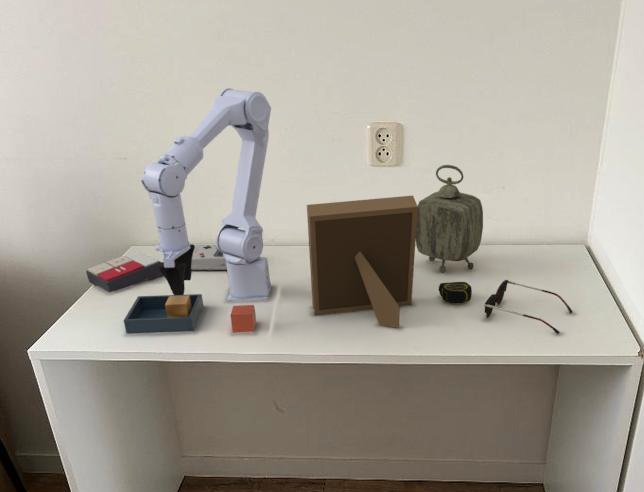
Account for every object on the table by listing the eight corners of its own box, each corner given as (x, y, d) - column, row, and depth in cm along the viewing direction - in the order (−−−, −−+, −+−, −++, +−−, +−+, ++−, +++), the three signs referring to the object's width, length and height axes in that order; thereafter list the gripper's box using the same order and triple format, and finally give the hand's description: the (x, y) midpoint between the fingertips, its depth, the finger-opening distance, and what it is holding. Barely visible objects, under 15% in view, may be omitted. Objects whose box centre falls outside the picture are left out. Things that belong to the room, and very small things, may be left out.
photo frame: (312, 307, 165) (303, 196, 151) (407, 297, 168) (406, 187, 154) (320, 337, 153) (311, 219, 139) (422, 325, 156) (423, 209, 142)
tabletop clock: (480, 268, 181) (486, 164, 167) (464, 281, 174) (469, 174, 160) (428, 258, 187) (430, 157, 173) (411, 270, 181) (411, 166, 167)
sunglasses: (502, 298, 166) (505, 277, 163) (573, 314, 160) (577, 293, 157) (481, 323, 156) (484, 301, 153) (556, 341, 150) (560, 319, 147)
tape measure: (467, 294, 168) (468, 278, 166) (473, 306, 163) (474, 290, 161) (438, 295, 168) (438, 280, 166) (443, 308, 162) (443, 292, 160)
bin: (204, 308, 167) (201, 293, 165) (194, 333, 157) (191, 318, 155) (141, 310, 167) (137, 296, 165) (126, 335, 157) (123, 320, 155)
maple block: (193, 313, 163) (189, 295, 161) (189, 323, 160) (185, 304, 157) (172, 314, 163) (169, 296, 161) (168, 323, 160) (164, 304, 157)
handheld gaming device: (194, 258, 193) (191, 244, 191) (248, 258, 191) (246, 244, 189) (184, 272, 186) (181, 257, 183) (240, 272, 184) (238, 257, 182)
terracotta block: (256, 323, 159) (254, 304, 157) (254, 333, 155) (251, 314, 153) (236, 324, 159) (233, 305, 157) (233, 334, 155) (230, 314, 153)
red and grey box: (84, 268, 180) (137, 248, 188) (89, 284, 182) (142, 263, 190) (105, 280, 173) (160, 258, 181) (110, 296, 175) (164, 274, 183)
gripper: (159, 213, 155) (170, 274, 163) (143, 237, 143) (156, 301, 151) (192, 212, 155) (202, 273, 163) (179, 236, 143) (190, 300, 150)
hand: (182, 286), depth 157 cm, fingers open, 7 cm apart
